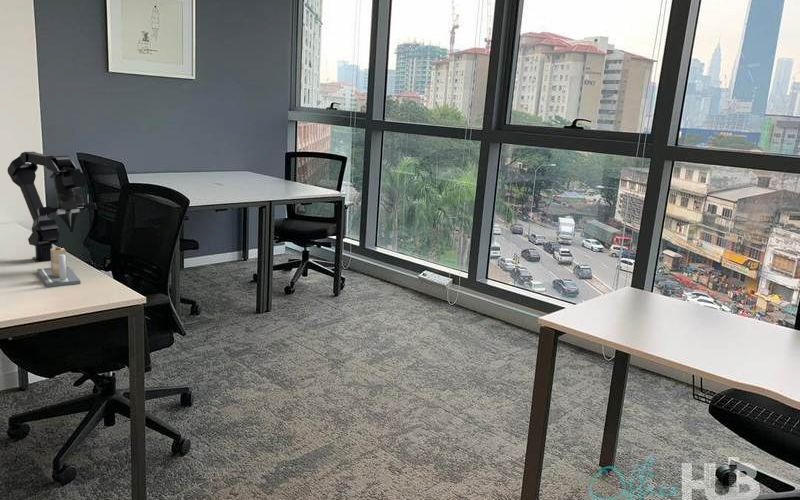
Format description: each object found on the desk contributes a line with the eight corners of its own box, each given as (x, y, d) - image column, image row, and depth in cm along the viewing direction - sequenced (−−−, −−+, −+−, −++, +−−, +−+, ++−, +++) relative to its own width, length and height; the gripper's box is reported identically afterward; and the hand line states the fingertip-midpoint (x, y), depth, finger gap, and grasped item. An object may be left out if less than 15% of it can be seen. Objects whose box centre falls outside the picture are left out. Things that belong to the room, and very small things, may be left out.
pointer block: (51, 274, 211) (50, 246, 209) (64, 272, 214) (63, 245, 212) (53, 276, 208) (52, 249, 206) (66, 275, 211) (65, 248, 208)
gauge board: (37, 272, 217) (35, 244, 215) (68, 269, 223) (67, 242, 221) (47, 287, 202) (45, 257, 200) (80, 283, 208) (79, 255, 206)
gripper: (37, 191, 209) (45, 236, 211) (96, 186, 220) (103, 229, 222) (34, 192, 218) (41, 235, 220) (90, 187, 229) (97, 228, 231)
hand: (71, 232), depth 223 cm, fingers closed
